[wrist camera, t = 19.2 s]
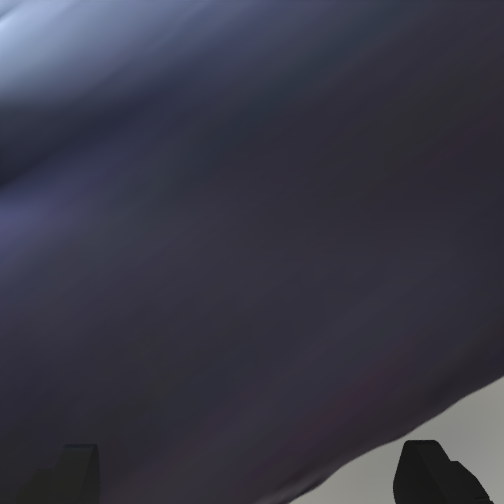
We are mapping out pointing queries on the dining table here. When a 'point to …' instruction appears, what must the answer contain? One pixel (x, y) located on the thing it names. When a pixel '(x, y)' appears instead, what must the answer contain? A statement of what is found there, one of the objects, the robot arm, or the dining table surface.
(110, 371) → the dining table surface
